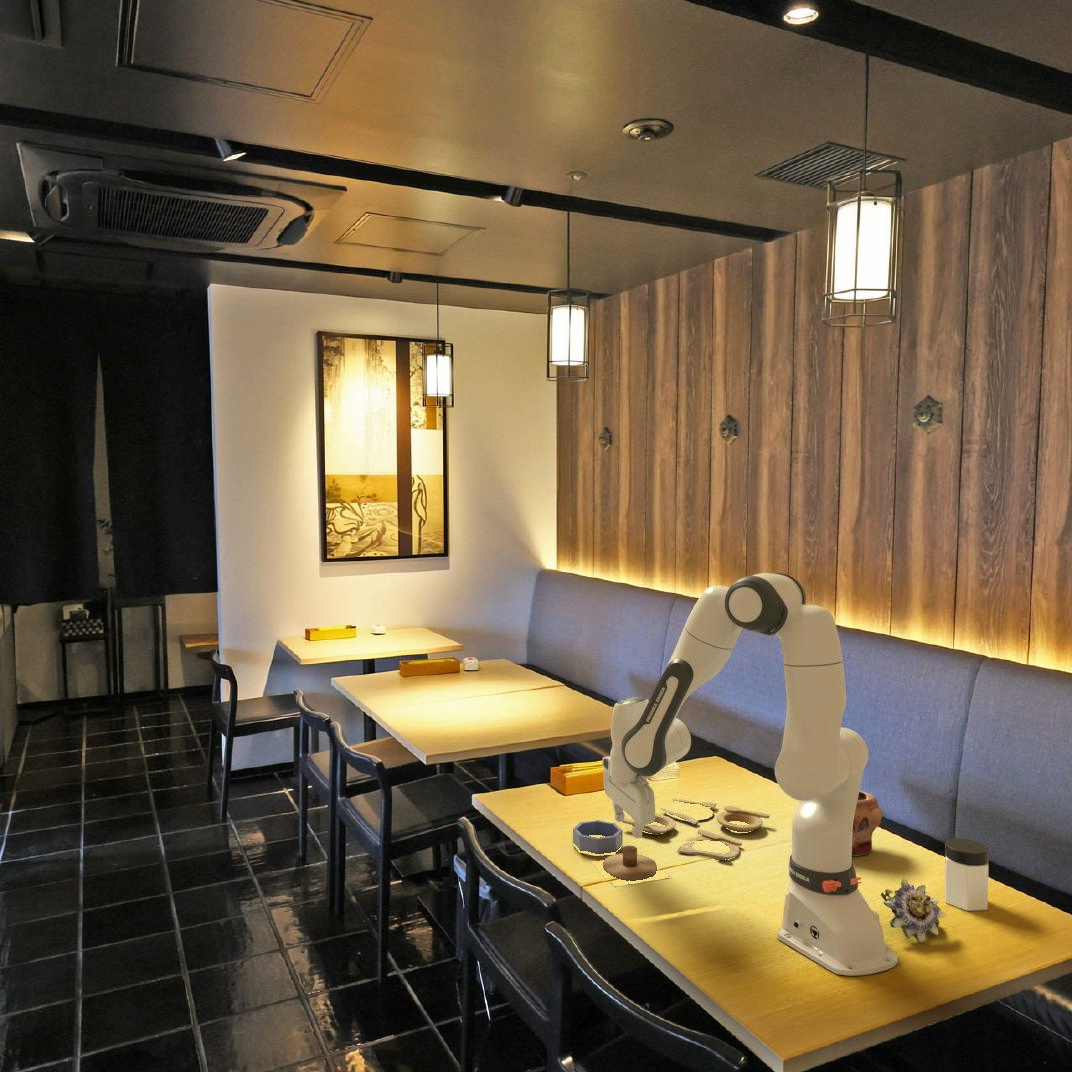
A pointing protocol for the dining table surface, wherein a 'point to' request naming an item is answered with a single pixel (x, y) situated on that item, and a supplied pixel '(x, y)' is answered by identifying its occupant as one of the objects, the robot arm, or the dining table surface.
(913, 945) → the dining table surface
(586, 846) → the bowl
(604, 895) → the dining table surface
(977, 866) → the jar
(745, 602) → the robot arm
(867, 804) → the decorative planter
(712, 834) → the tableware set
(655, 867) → the lid
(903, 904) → the passion flower
